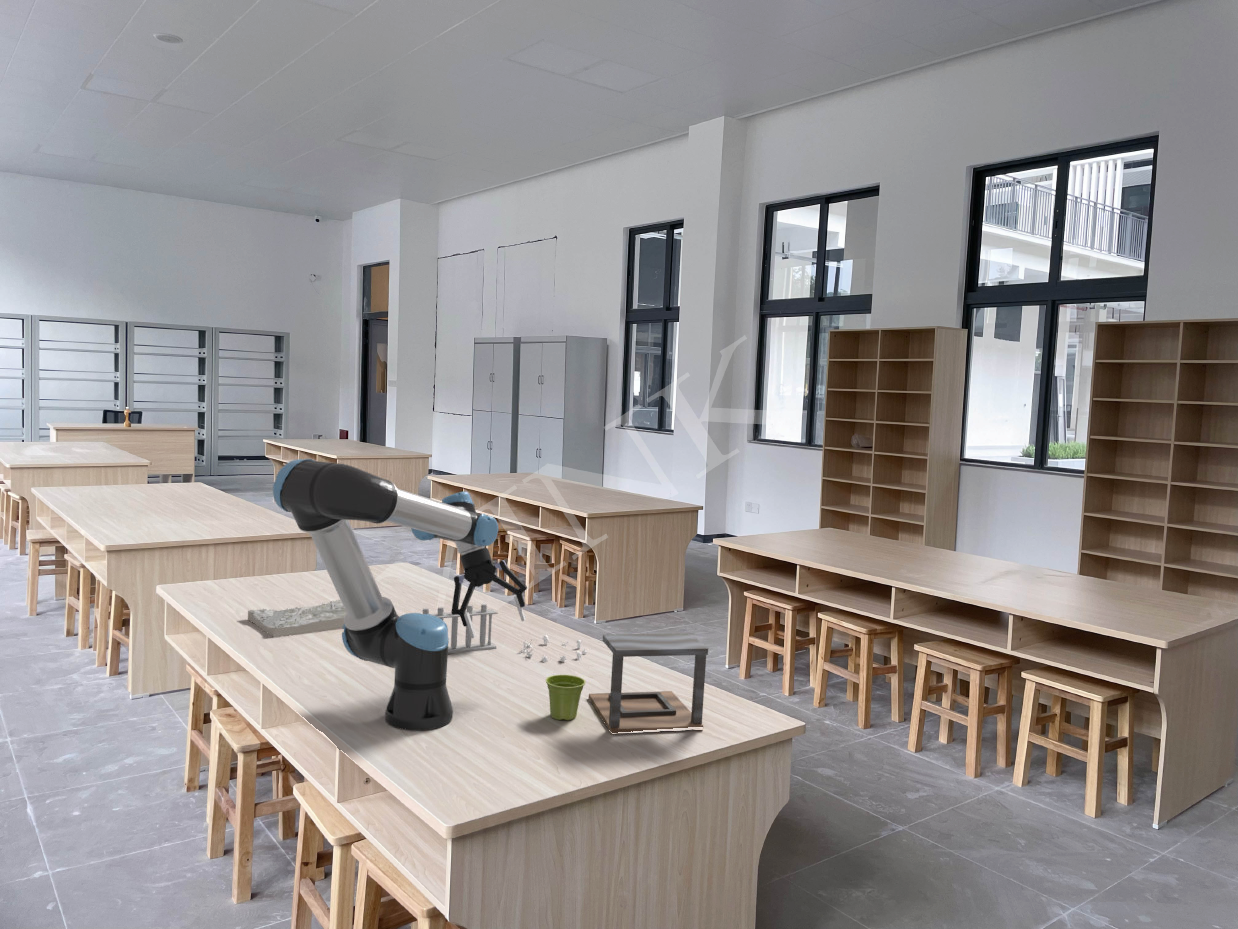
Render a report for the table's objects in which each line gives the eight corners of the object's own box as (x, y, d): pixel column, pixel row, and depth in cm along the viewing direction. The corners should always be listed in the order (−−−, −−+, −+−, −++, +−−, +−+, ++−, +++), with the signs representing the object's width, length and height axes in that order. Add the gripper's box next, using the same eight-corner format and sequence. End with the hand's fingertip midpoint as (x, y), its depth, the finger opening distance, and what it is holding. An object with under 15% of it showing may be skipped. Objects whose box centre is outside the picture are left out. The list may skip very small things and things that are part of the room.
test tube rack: (413, 657, 250) (415, 611, 249) (409, 653, 254) (410, 607, 253) (496, 649, 263) (498, 605, 262) (490, 645, 266) (492, 601, 265)
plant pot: (562, 706, 217) (564, 671, 216) (591, 716, 211) (593, 681, 211) (535, 715, 210) (537, 680, 209) (564, 726, 204) (566, 690, 203)
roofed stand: (588, 698, 224) (592, 622, 222) (671, 695, 229) (675, 621, 228) (611, 734, 201) (616, 650, 199) (703, 730, 206) (708, 648, 205)
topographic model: (381, 625, 283) (382, 609, 283) (274, 639, 261) (274, 623, 261) (351, 609, 301) (351, 594, 301) (247, 621, 279) (248, 606, 278)
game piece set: (521, 643, 270) (522, 631, 270) (586, 646, 272) (587, 633, 272) (518, 662, 251) (519, 649, 251) (589, 665, 253) (590, 652, 252)
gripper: (520, 534, 233) (546, 611, 232) (431, 565, 233) (456, 642, 232) (516, 535, 226) (543, 615, 225) (424, 567, 226) (450, 646, 225)
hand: (498, 629), depth 228 cm, fingers open, 13 cm apart
